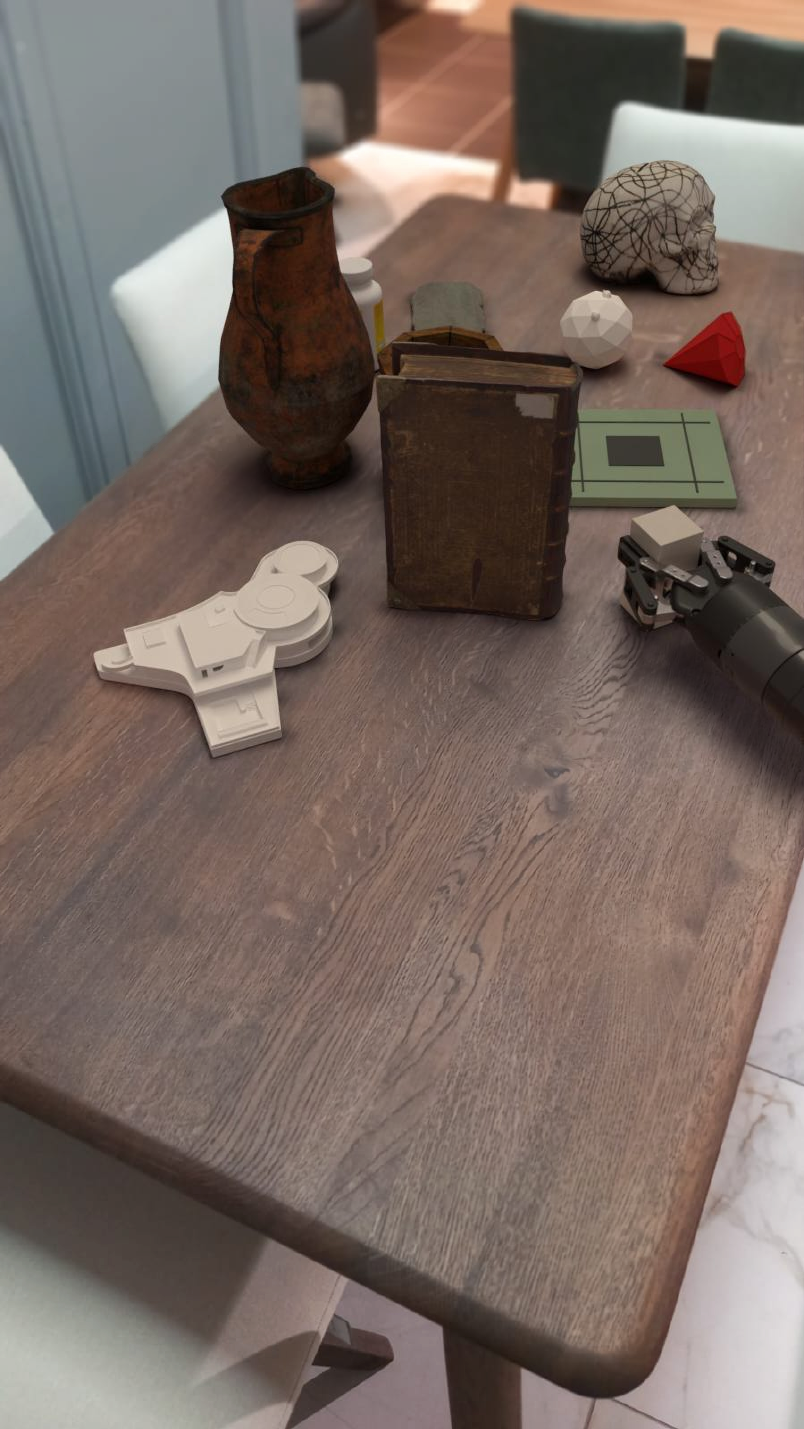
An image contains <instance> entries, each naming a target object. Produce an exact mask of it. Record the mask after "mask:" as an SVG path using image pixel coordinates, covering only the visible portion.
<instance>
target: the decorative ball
mask: <svg viewBox="0 0 804 1429" xmlns="http://www.w3.org/2000/svg"><path fill="white" fill-rule="evenodd" d="M633 317H634V316H633V313H632V312H631V311H630V310H629V307H627V305H626V304H625V303H624V302H623V300H622V299H621V297H620V296H619V295H615V294H612V293H611V291H610V290H605V289H603V290H602V291H599V290H594V291H592V292H588V293H587V294H585V295H581V296H579V297H578V298H575V299H573V300H572V301H571V303H570V304H569V306H568V307H567V309H566V310H565V312H564V314H563V315H562V317H561V319H560V320H559V333H560V334H559V338H560V339H559V340H560V342H559V343H560V347H561V348H562V350H563V351H564V352H565V354H566V356H568V357H569V358H570V359H571V360H572V361H574V362H577V363H578V364H579V366H580V367H585V368H588V369H593V370H598V369H601V368H604V367H606V366H609V365H612V364H613V363H616V362H618V361H619V360H620V359H621V358H622V357H623V356H624V355H625V353H626V352H628V349H629V347H630V345H631V343H632V341H633V340H634V339H633V335H634V334H633V330H634V328H633V324H634V323H633V322H634V319H633Z"/></svg>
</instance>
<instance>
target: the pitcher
mask: <svg viewBox="0 0 804 1429" xmlns="http://www.w3.org/2000/svg"><path fill="white" fill-rule="evenodd" d="M335 194H336V188H335V187H334V186H333V185H332V184H330V183H329V182H327V181H324V180H323V179H320V178H319V177H317V173H316V171H314V170H313V169H311V168H310V167H308V166H307V167H306V166H297V167H292V168H290V169H285V170H283V171H280V172H278V173H275V174H271V175H267V176H263V177H259V178H254V179H249V180H245V181H240V182H236V183H235V184H233V185H230V186H229V187H227V188H226V189H225V190H224V191H223V192H222V194H221V196H220V198H221V200H222V204H223V207H224V208H225V209H226V214H227V219H228V224H229V230H230V237H231V245H232V256H233V258H232V271H231V273H232V274H231V284H232V285H231V287H232V292H231V297H230V302H229V306H228V310H227V314H226V317H225V320H224V325H223V327H222V332H221V335H220V342H219V351H218V352H219V353H218V354H219V355H218V373H217V380H218V385H219V387H220V390H221V394H222V397H223V401H224V405H225V408H226V410H227V412H228V413H229V415H230V416H231V418H232V419H233V420H234V421H235V422H236V423H237V424H238V426H240V428H242V429H243V431H244V432H246V434H247V435H248V436H249V437H250V438H251V439H252V440H253V441H254V442H255V443H257V444H258V446H260V447H262V448H263V449H265V450H267V451H268V452H267V455H266V456H265V461H264V469H265V473H266V474H267V476H268V478H269V479H270V480H272V481H273V482H274V483H275V484H277V485H280V486H282V487H285V488H287V489H295V490H296V489H297V490H308V489H315V488H322V487H325V486H327V485H329V484H332V483H334V482H336V481H337V480H338V479H340V478H342V476H344V475H345V474H346V473H347V471H348V470H349V469H350V467H351V465H352V461H353V451H352V447H351V446H350V444H349V443H348V442H347V440H346V439H347V438H348V437H349V436H350V435H351V433H353V431H354V430H355V428H356V427H357V425H358V424H359V422H360V420H361V419H362V417H363V416H364V414H365V412H366V411H367V409H368V407H369V405H370V403H371V402H372V399H373V391H374V382H375V376H376V375H375V374H376V371H375V361H374V357H373V352H372V348H371V343H370V339H369V334H368V331H367V329H366V326H365V324H364V321H363V319H362V316H361V314H360V311H359V308H358V306H357V303H356V301H355V299H354V297H353V295H352V293H351V291H350V289H349V287H348V285H347V283H346V281H345V279H344V277H343V275H342V273H341V271H340V266H339V256H338V251H337V246H336V236H335V225H334V224H335V223H334V212H333V211H334V210H333V209H334V200H335Z"/></svg>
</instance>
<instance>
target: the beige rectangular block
mask: <svg viewBox="0 0 804 1429" xmlns="http://www.w3.org/2000/svg"><path fill="white" fill-rule="evenodd" d="M704 532H705V530H704V529H702V528H701V527H700V526H699V525H698V524H696V523H695V521H693V520H692V519H691V518H690V517H689V516H688V515H686V514H685V513H684V512H683V511H682V510H681V509H680V508H679V507H676V506H675V505H673V506H669V507H662V508H660V509H657V510H654V511H651V512H648V513H644V514H642V515H639V516H636V517H633V518H631V522H630V530H629V536H630V537H631V538H632V539H633V540H634V541H635V542H636V543H637V544H638V545H640V546H641V547H642V548H643V549H644V550H645V551H646V552H647V553H648V554H649V557H650V558H652V559H653V560H655V561H657V562H659V563H661V564H663V565H667V564H672V565H674V566H676V567H678V568H680V569H682V570H684V571H689V570H694V569H696V568H697V565H698V560H699V555H700V548H701V545H702V539H703V537H704V534H705V533H704ZM626 569H627V568H626V567H625V566H624V572H623V573H624V574H623V581H622V588H621V597H620V605H621V606H622V607H623V608H624V609H625V611H626V612H627V613H628V614H629V615H630V616H631V617H632V618H633V619H634V620H635V621H636V622H637V623H638V621H637V619H636V617H635V615H634V613H633V611H632V609H631V607H630V605H629V603H628V601H627V599H626V597H625V595H624V592H623V590H624V586H625V579H626ZM651 577H652V578H654V579H656V580H657V577H656V576H655V575H654V574H652V575H651ZM672 583H673V580H672V582H671V588H672ZM652 594H653V593H652ZM653 596H654V594H653ZM663 604H664V603H663ZM672 623H674V622H673V621H672V620H668V621H661V622H655V626H654V629H652V630H655V629H658V628H661V627H663V626H666V625H669V624H672ZM652 630H651V631H652Z"/></svg>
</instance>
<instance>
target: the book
mask: <svg viewBox="0 0 804 1429" xmlns="http://www.w3.org/2000/svg"><path fill="white" fill-rule="evenodd" d="M391 352H392V373H393V375H380V374H378V375H376V382H375V384H376V385H375V388H376V403H377V404H376V405H377V412H378V413H379V415H378V416H379V429H380V430H379V431H380V432H379V433H380V434H379V435H380V454H381V467H382V468H381V472H382V492H383V509H384V510H383V511H384V536H385V563H386V597H387V599H386V600H387V606H388V607H391V608H397V609H402V610H403V609H404V610H415V611H441V612H444V611H445V612H462V613H463V612H464V613H465V612H466V613H476V614H486V615H487V614H488V615H495V616H502V617H507V618H511V619H518V620H528V621H541V620H542V621H543V619H545V618H550V617H552V616H554V615H555V613H557V612H558V610H559V609H560V607H561V605H562V602H563V599H564V590H563V586H564V585H563V584H564V583H563V582H564V580H563V578H564V568H565V566H566V564H567V554H566V546H567V539H568V538H567V537H568V534H569V532H570V522H569V515H570V507H571V506H570V499H571V497H572V488H571V482H572V471H573V465H574V463H575V456H576V453H575V450H574V446H575V435H576V428H577V426H578V422H579V416H578V409H579V400H580V394H581V387H582V383H583V378H584V372H583V369H582V368H581V366H580V365H579V364H578V363H577V362H574V361H572V360H571V359H570V357H569V356H568V355H567V354H566V355H565V354H556V353H549V352H548V353H547V352H536V351H513V350H512V351H511V350H504V351H502V350H494V349H480V348H466V347H453V346H443V345H437V344H434V343H425V342H393V343H392V345H391Z"/></svg>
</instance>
